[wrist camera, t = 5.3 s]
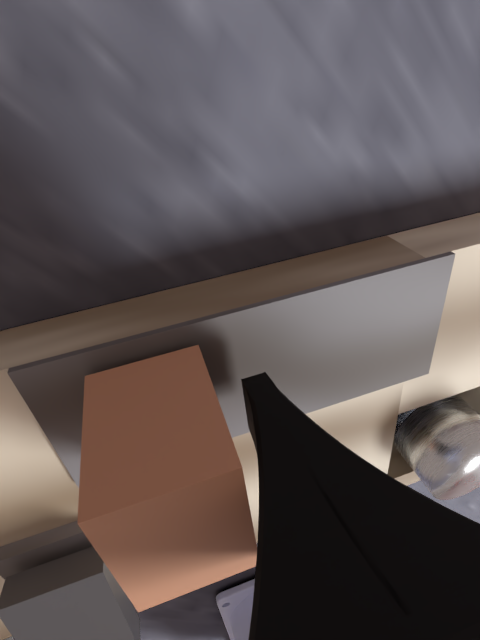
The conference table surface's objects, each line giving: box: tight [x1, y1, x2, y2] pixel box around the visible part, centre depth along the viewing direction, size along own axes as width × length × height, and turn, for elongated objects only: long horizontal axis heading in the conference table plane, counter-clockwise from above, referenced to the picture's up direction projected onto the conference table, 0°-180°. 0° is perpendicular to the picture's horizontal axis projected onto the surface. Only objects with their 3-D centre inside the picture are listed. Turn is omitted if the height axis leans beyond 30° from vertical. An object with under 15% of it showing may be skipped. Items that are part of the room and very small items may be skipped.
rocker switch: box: [0, 547, 140, 640], centre depth 13 cm, size 4×3×1 cm
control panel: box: [0, 213, 480, 640], centre depth 15 cm, size 13×30×2 cm, turn 96°
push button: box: [394, 395, 480, 500], centre depth 17 cm, size 4×4×2 cm
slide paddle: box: [77, 345, 257, 612], centre depth 10 cm, size 4×3×4 cm
